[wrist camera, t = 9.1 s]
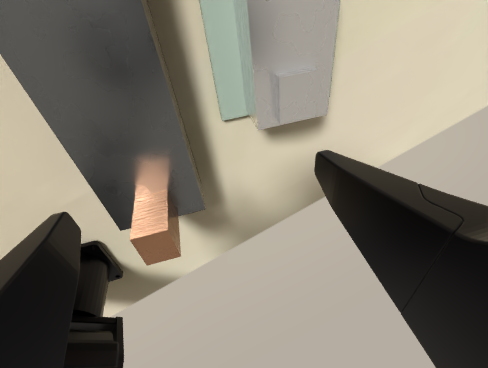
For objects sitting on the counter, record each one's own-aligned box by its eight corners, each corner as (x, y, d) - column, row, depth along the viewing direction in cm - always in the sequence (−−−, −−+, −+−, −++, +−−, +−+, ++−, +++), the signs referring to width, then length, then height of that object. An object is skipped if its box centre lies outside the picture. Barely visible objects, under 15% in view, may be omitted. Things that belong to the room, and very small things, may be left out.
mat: (326, 95, 22) (329, 97, 21) (221, 117, 21) (222, 120, 20) (343, -73, 15) (347, -74, 15) (189, -50, 14) (190, -51, 14)
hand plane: (200, 183, 24) (212, 247, 19) (125, 201, 24) (113, 274, 18) (71, -251, 10) (-48, -538, 4) (-135, -238, 9) (-607, -562, 4)
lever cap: (306, 96, 21) (332, 119, 17) (245, 109, 20) (261, 136, 17) (313, -57, 15) (355, -64, 12) (228, -45, 14) (247, -48, 11)
